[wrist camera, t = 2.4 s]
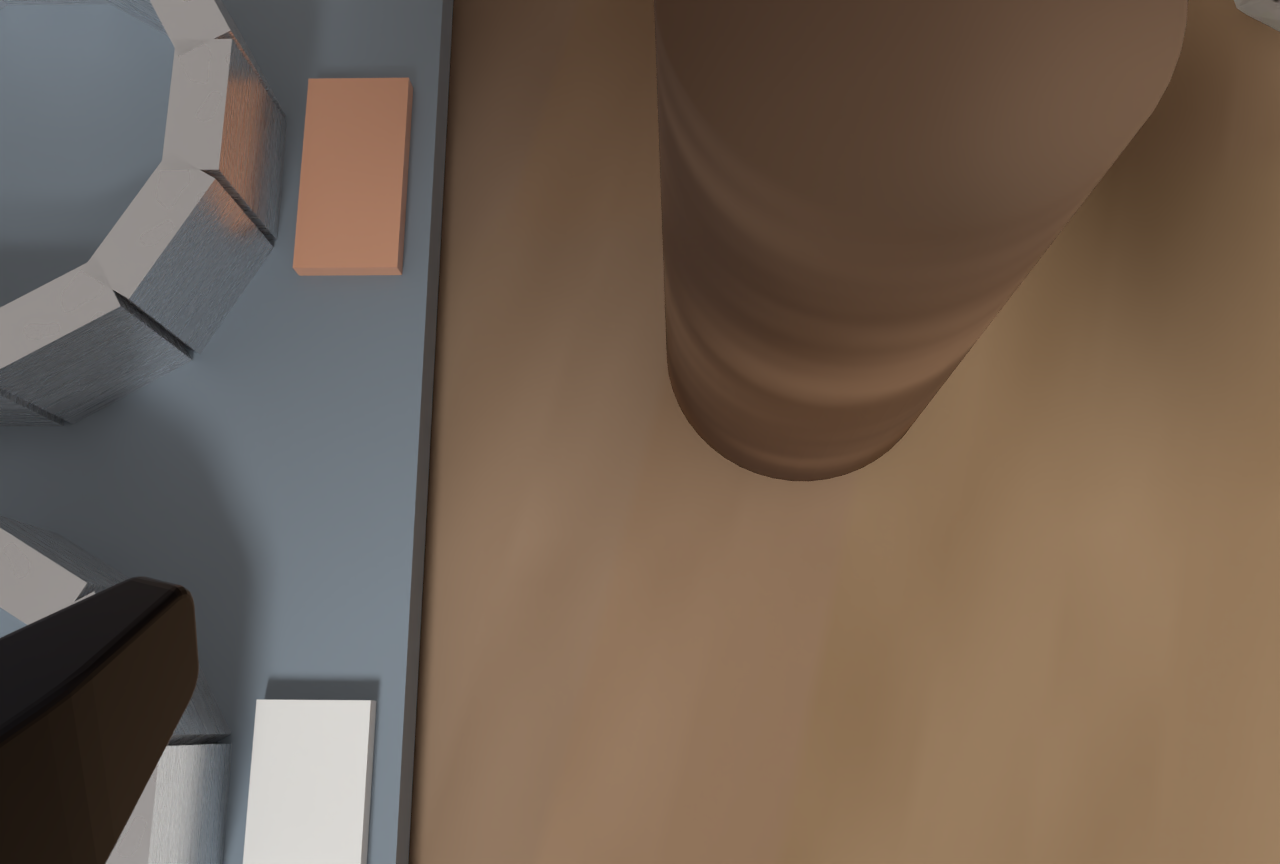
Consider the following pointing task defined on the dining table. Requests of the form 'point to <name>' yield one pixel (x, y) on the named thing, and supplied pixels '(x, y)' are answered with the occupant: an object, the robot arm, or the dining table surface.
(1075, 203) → the walnut peg
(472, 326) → the dining table surface
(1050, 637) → the dining table surface
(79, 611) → the robot arm
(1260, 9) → the packaged product
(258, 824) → the socket board
